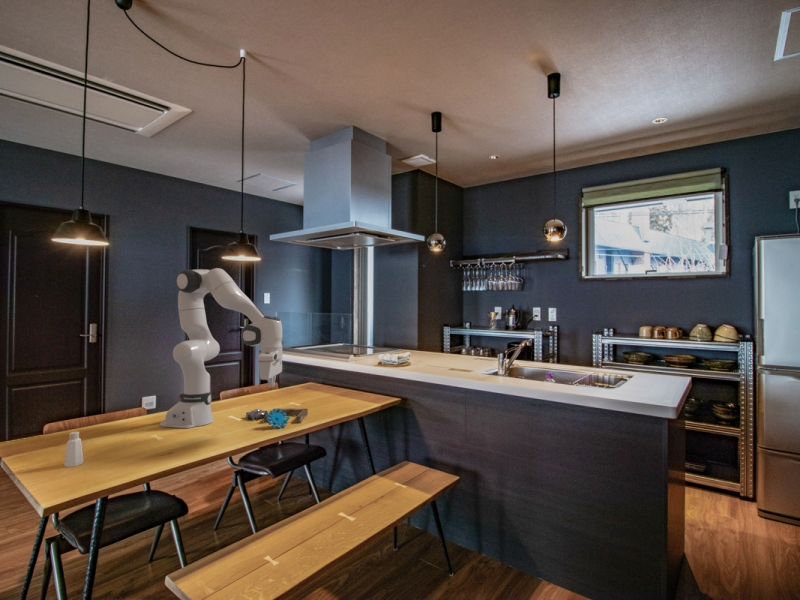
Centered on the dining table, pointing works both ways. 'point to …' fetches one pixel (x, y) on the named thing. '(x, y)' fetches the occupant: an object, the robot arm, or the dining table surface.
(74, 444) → the pepper shaker
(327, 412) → the dining table surface
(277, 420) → the gear
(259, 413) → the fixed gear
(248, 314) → the robot arm
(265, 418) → the brown bracket
